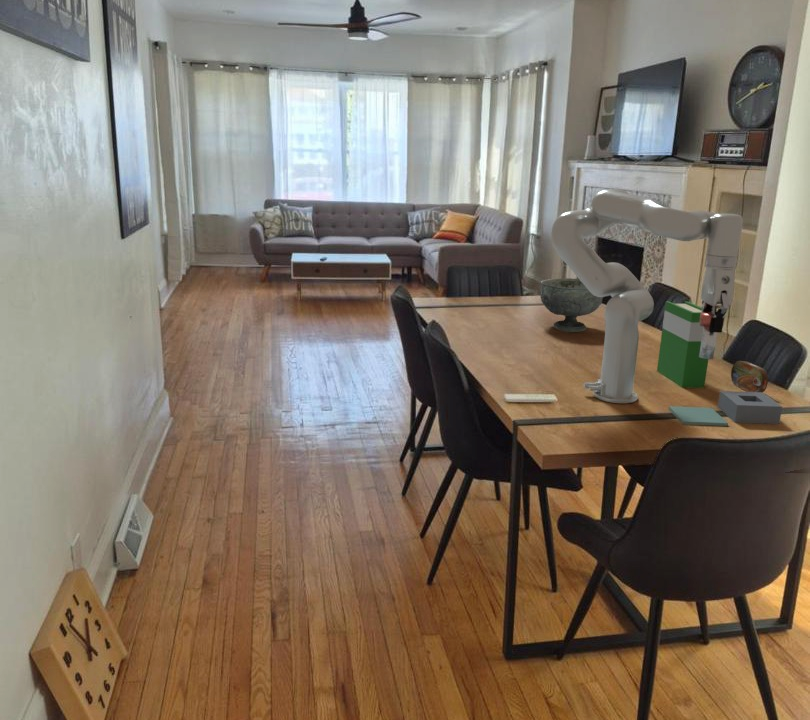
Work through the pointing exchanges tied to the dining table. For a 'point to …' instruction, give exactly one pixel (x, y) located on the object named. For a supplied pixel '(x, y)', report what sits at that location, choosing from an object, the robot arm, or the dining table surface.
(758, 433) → the dining table surface
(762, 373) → the tin
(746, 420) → the grey flat block
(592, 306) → the decorative bowl
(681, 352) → the green cereal box
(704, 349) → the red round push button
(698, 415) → the mat
